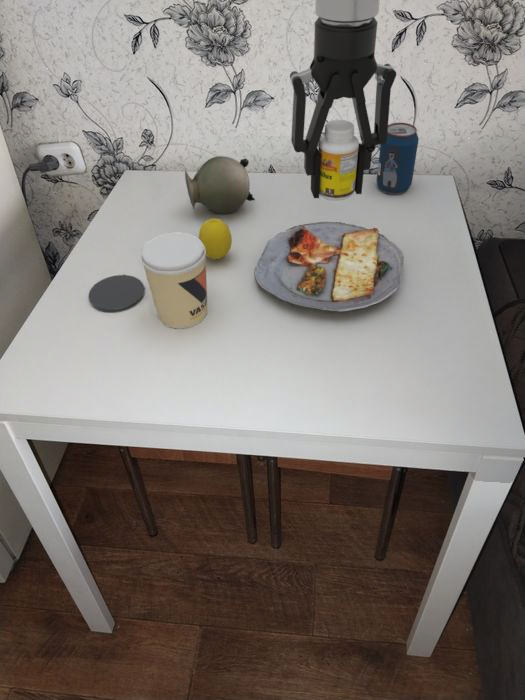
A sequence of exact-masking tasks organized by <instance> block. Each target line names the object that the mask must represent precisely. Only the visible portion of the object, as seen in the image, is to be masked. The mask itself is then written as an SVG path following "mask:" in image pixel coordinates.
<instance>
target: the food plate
mask: <svg viewBox="0 0 525 700" xmlns="http://www.w3.org/2000/svg"><path fill="white" fill-rule="evenodd" d="M404 258H405V256H404V254H403V251H402V250H401V249H400V248H399V247H398V246H397V245H396V244H395V243H394V242H392V241H390V240H389V239H388V238H387V237H385V235H383V234H381V233H380V230H379V228H378V227H373V228H366V227H364V226H361V225H355V224H350V223H345V222H341V221H319V222H313V223H312V222H310V223H304V224H298V225H294V226H292V227H290V228H289V229H286V230H285V231H283V232H281V231H280V232H279V233H278V234H277V235H275V236H274V237H272V238H270V239H269V240H268V241H267V243H266V245H265V247H264V249H263V251H262V253H261V255H260V258H259V259H258V261H257V263H256V266H255V268H254V272H253V273H254V278H255V280H256V282H257V284H258V285H259V287H261V288H262V289H263V290H265V291H266V292H267V293H271V294H272V295H273V296H275V297H277V298H278V299H280V300H282V301H284V302H287V303H289V304H294V305H296V306H300V307H305V308H309V309H315V310H318V311H320V310H321V311H323V310H324V311H331V312H350V311H353V310H358V309H359V310H360V309H363V308H369V307H371V306H374V305H376V304H378V303H381V302H382V301H384V300H386V299H387V298H389V297H390V296H391V295H393V294H394V293H395V292H397V290H399V289H398V288H399V286H400V280H401V275H402V270H403V264H404Z"/></svg>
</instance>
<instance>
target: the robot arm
mask: <svg viewBox="0 0 525 700" xmlns="http://www.w3.org/2000/svg"><path fill="white" fill-rule="evenodd" d="M380 1H381V0H315V7H314V8H315V9H314V13H315V15H316V16H317V17H318V18H317V19H316V20H315V21H314V41H313V43H314V44H313V47H314V48H313V58H312V61H311V63H310V65H309V68H307V69H305V70H302V71H300V72H298V71H295V70H293V71H292V72H290V74H289V79H290V83H291V86H292V89H293V95H292V96H293V97H292V98H293V99H292V116H291V117H292V118H291V141H290V142H291V145H292V148H293V151H294V152H296V153H303V154H304V158H303V159H304V161H303V167H304V171H305V174H306V176H308V177H309V176H310V192H311V194H312V197H313V199H320V195H319V188H320V163H321V155H320V153H319V151H318V149H319V140H320V138H321V137H322V134H323V131H324V129H325V125H326V123H327V122H326V121H327V118H328V114H329V112H330V109H332V107H333V104H334V101H335V100H340V99H342V98H346V99H351V100H352V105H353V109H354V114H355V118H356V123H357V124H356V125H357V128H358V133H359V137H360V141H361V142H359V148H358V159H357V171H356V183H355V191H354V193H355V195H362V193H363V192H362V191H363V183H364V171H369V170H370V168H371V167H372V166H371V165H372V156H373V153H374V152H375V150H376V146H378V145H383V144H385V143H386V142H387V133H388V125H389V120H390V119H389V118H390V116H389V115H390V104H391V90H392V88H393V84H394V82H395V80H396V78H397V72H396V70H395V69H394V68H393V66H392V65H391V64H390V63H385V64H380V63H377V60H376V57H375V51H376V42H377V32H378V20H377V19H376V17H377V15H378V14H379V12H380ZM373 76H374V80H375V82H376V89H375V104H374V105H375V107H374V125H373V132H372V129H371V124H370V119H369V114H368V109H367V103H366V96H365V91H364V89H365V87H366V86H367V84H368V83H369V81H370V80H371V79H372V78H373ZM311 80H313V81H315V83H316V84H317V86H318V88H319V90H318V93H317V101H316V104H315V107H314V110H313V113H312V117H311V120H310V124H309V126H308V129H307V132H306V136H305V137H304V135H305V120H306V105H307V94H306V91H308V89H309V88H310V83H311Z"/></svg>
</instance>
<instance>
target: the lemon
mask: <svg viewBox="0 0 525 700" xmlns="http://www.w3.org/2000/svg"><path fill="white" fill-rule="evenodd" d="M198 238H199V239H200V240H201V242H202V243H203V244H204V246H205V249H206V256H205V257H208V258H210V259H213V260H219V259H222V258H224V257H225V256H227V255H228V254H229V252H230V250H231V248H232V242H233V241H232V240H233V239H232V233H231V230H230V228H229V226H228V224H226V222H225V221H223V220H222V219H219V218H214V217H213V218H209V219H207V220H206V221H204V222H203V224H201V226H200V228H199V233H198Z"/></svg>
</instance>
